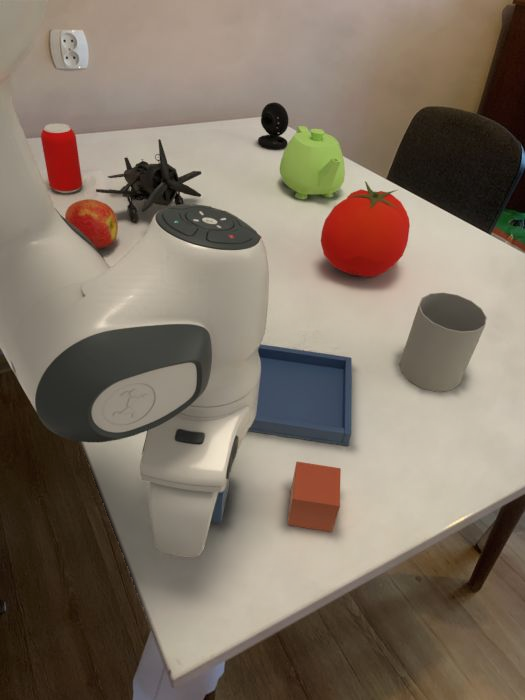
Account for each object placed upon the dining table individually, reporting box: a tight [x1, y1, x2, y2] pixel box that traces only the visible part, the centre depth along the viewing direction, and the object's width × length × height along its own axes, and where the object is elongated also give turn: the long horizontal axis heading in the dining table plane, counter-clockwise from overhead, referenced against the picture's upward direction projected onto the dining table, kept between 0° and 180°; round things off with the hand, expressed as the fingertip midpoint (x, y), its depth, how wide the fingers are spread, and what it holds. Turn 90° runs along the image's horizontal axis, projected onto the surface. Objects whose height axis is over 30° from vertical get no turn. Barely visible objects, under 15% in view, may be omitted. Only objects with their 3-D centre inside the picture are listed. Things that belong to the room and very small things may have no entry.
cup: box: [399, 292, 488, 393], centre depth 71 cm, size 8×8×10 cm
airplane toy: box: [95, 139, 202, 223], centre depth 99 cm, size 20×19×15 cm
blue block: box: [211, 474, 231, 524], centre depth 54 cm, size 4×4×4 cm
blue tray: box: [247, 343, 353, 447], centre depth 67 cm, size 14×14×2 cm
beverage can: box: [40, 122, 83, 194], centre depth 104 cm, size 6×6×12 cm
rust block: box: [287, 461, 342, 533], centre depth 54 cm, size 4×4×4 cm
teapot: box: [279, 125, 346, 200], centre depth 113 cm, size 20×13×13 cm
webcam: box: [257, 102, 289, 150], centre depth 133 cm, size 8×8×10 cm
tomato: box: [320, 180, 411, 278], centre depth 88 cm, size 16×14×14 cm
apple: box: [64, 198, 119, 250], centre depth 89 cm, size 8×8×8 cm
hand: (203, 491), depth 54 cm, fingers closed on blue block, 4 cm apart
